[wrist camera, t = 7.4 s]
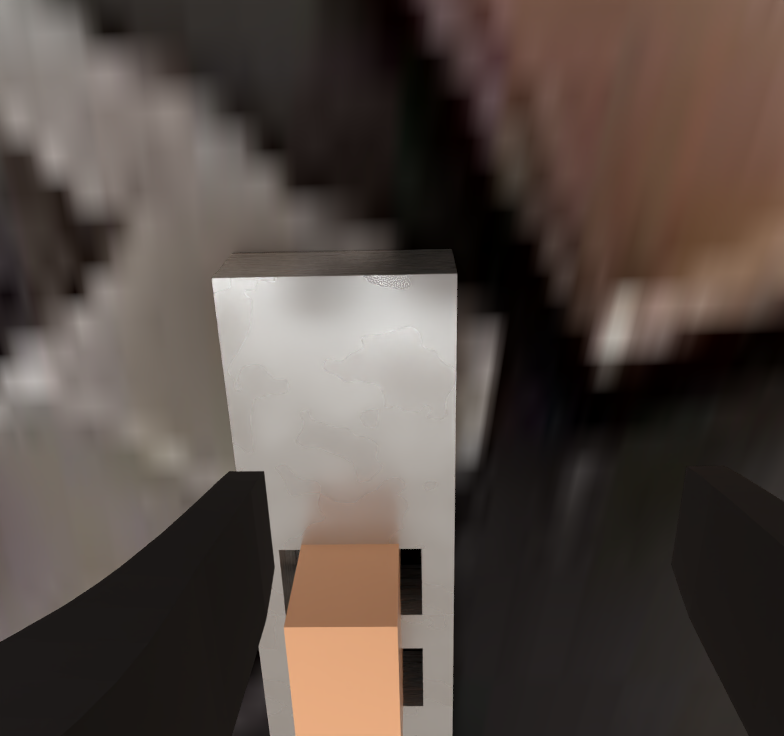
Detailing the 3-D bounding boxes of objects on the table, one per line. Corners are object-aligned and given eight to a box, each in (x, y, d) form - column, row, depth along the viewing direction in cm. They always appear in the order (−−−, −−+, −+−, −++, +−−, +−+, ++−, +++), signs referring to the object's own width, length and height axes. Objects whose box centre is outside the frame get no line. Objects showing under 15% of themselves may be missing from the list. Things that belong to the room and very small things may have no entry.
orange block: (399, 497, 25) (397, 626, 19) (403, 643, 27) (402, 793, 22) (310, 498, 25) (283, 627, 19) (323, 643, 28) (301, 793, 22)
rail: (452, 248, 21) (457, 273, 19) (447, 808, 31) (451, 869, 29) (232, 253, 22) (211, 278, 19) (296, 808, 31) (287, 868, 29)
